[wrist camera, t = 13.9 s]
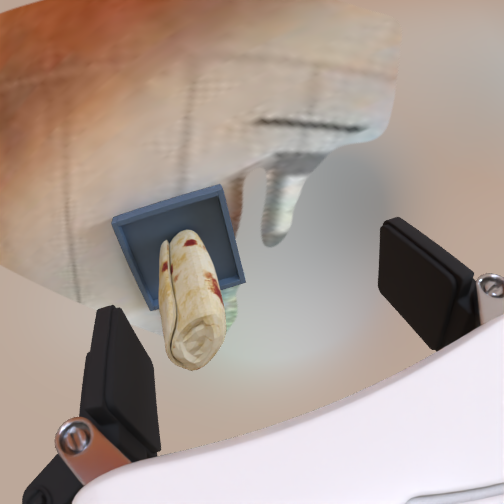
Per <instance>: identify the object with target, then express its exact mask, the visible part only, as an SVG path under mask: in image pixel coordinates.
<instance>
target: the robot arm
mask: <svg viewBox="0 0 504 504" xmlns="http://www.w3.org/2000/svg"><path fill="white" fill-rule="evenodd" d="M379 254H380V255H379V276H378V288H379V290H380V293H381V294H382V295H383V296H384V297H385V298H386V299H387V300H388V301H389V302H390V303H391V305H392V306H393V307H394V308H395V309H396V310H397V311H398V312H399V314H400V315H401V316H402V317H403V318H404V319H405V320H406V321H407V322H408V324H409V325H410V326H411V327H412V328H413V329H414V330H415V332H416V333H417V334H418V335H419V336H420V337H421V338H422V339H423V341H424V342H425V343H426V344H427V345H428V346H429V348H430V349H432V350H436V351H437V352H436V353H434V354H432V355H430V356H428V357H427V358H425V359H423V360H421V361H419V362H417V363H416V364H414V365H412V366H410V367H408V368H406V369H404V370H402V371H400V372H398V373H396V374H394V375H392V376H390V377H388V378H386V379H385V380H382V381H380V382H378V383H376V384H374V385H372V386H370V387H367V388H365V389H363V390H361V391H359V392H356V393H354V394H352V395H350V396H347V397H345V398H343V399H340V400H338V401H336V402H333V403H331V404H329V405H326V406H323V407H321V408H318V409H316V410H313V411H311V412H308V413H305V414H303V415H300V416H297V417H295V418H292V419H289V420H286V421H284V422H281V423H278V424H275V425H272V426H269V427H266V428H263V429H260V430H256V431H253V432H250V433H247V434H243V435H240V436H237V437H233V438H229V439H226V440H222V441H218V442H214V443H211V444H207V445H203V446H199V447H196V448H191V449H187V450H183V451H179V452H174V453H170V454H165V455H161V456H157V452H158V451H160V450H161V443H160V436H159V435H160V434H159V425H158V415H157V406H156V405H157V404H156V393H155V381H154V380H155V379H154V367H153V364H152V361H151V359H150V357H149V356H148V354H147V353H146V351H145V349H144V347H143V346H142V344H141V343H140V341H139V339H138V337H137V336H136V334H135V332H134V330H133V329H132V327H131V325H130V323H129V321H128V320H127V318H126V316H125V314H124V312H123V311H122V309H121V308H116V307H115V306H114V305H111V306H107V307H104V308H100V309H98V310H97V313H96V319H95V325H94V330H93V336H92V343H91V350H90V352H89V353H87V356H86V362H85V369H84V376H83V384H82V393H81V403H80V414H79V417H74V418H71V419H68V420H67V421H66V422H64V423H63V424H62V425H61V426H60V428H59V429H58V431H57V433H56V436H55V448H56V450H57V452H58V454H57V455H56V456H55V457H54V458H53V459H52V461H51V462H50V463H49V464H48V465H47V466H46V467H45V468H44V469H43V470H42V472H41V473H40V474H39V475H38V476H37V477H36V478H35V479H34V480H33V481H32V483H31V484H30V485H29V486H28V487H27V489H26V490H25V492H24V494H23V499H22V504H504V277H502V276H500V275H497V274H492V273H486V274H483V275H481V276H480V277H478V279H477V280H476V281H475V280H474V279H473V276H474V272H473V271H471V270H470V269H469V268H468V267H466V266H465V265H464V264H463V263H461V262H460V261H459V260H457V259H456V258H455V257H454V256H452V255H451V254H450V253H448V252H447V251H446V250H444V249H443V248H442V247H440V246H439V245H438V244H436V243H435V242H434V241H432V240H431V239H429V238H428V237H427V236H426V235H424V234H422V233H421V232H420V231H419V230H417V229H416V228H414V227H413V226H412V225H410V224H408V223H407V222H406V221H404V220H403V219H401V218H400V217H396V218H393V219H389V220H386V221H385V222H384V223H383V226H382V227H381V228H380V253H379Z"/></svg>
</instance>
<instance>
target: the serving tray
mask: <svg viewBox="0 0 504 504" xmlns="http://www.w3.org/2000/svg"><path fill="white" fill-rule="evenodd" d="M111 224H112V227H113V229H114V232H115V234H116V236H117V239H118V241H119V244H120V246H121V248H122V251H123V253H124V255H125V258H126V260H127V262H128V264H129V267H130V269H131V271H132V273H133V276H134V278H135V280H136V282H137V284H138V286H139V289H140V291H141V293H142V295H143V297H144V299H145V301H146V303H147V305H148V307H149V309H150V311H153V310H157V309H159V257H160V248H161V245H162V243H163V242H164V241H165V240H167V241H168V242H169V244H170V242H171V241H172V239H173V238H174V237H175V236H176V235H177V234H178V233H179V232H181V231H183V230H192V231H194V232H195V233H197V234H198V236H199V237H200V239H201V240H202V242H203V244H204V246H205V248H206V250H207V252H208V254H209V256H210V258H211V260H212V263H213V265H214V268H215V272H216V275H217V279H218V283H219V287H220V290H223V289H226V288H230V287H233V286H236V285H239V284H243V283H245V282H246V281H245V277H244V273H243V269H242V265H241V261H240V257H239V253H238V249H237V245H236V240H235V236H234V232H233V228H232V224H231V220H230V216H229V212H228V207H227V203H226V199H225V195H224V191H223V188H222V186H221V185H220V184H219V185H215V186H212V187H208V188H205V189H201V190H198V191H194V192H191V193H188V194H184V195H181V196H178V197H174V198H171V199H168V200H165V201H162V202H158V203H155V204H152V205H149V206H146V207H143V208H140V209H137V210H134V211H131V212H128V213H125V214H122V215H119V216H116V217H113V220H112V223H111Z"/></svg>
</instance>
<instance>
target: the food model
mask: <svg viewBox="0 0 504 504" xmlns="http://www.w3.org/2000/svg"><path fill="white" fill-rule="evenodd" d="M159 310H160V314H161V320H162V328H163V334H164V339H165V348H166V353H167V355H168V357H169V359H170V360H171V361H172V362H173V363H174V364H175V365H177V366H179V367H182V368H185V369H188V370H191V371H192V370H197V369H200V368H201V367H203V366H205V365H206V364H207V363H208V362H209V361H210V360H211V359H212V358H213V357H214V356H215V354H216V353H217V351H218V350H219V348H220V347H221V345H222V344H223V342H224V338H225V335H226V316H225V309H224V304H223V300H222V295H221V291H220V287H219V283H218V279H217V275H216V272H215V268H214V265H213V263H212V260H211V258H210V256H209V254H208V252H207V250H206V248H205V246H204V244H203V242H202V240H201V239H200V237H199V236H198V234H197V233H195V232H194V231H192V230H183V231H181V232H179V233H178V234H177V235H176V236H175V237H174V238H173V239H172V241H171V242H170V244H169V242H168V241H167V240H165V241H164V242H163V243H162V245H161V248H160V257H159Z"/></svg>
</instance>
